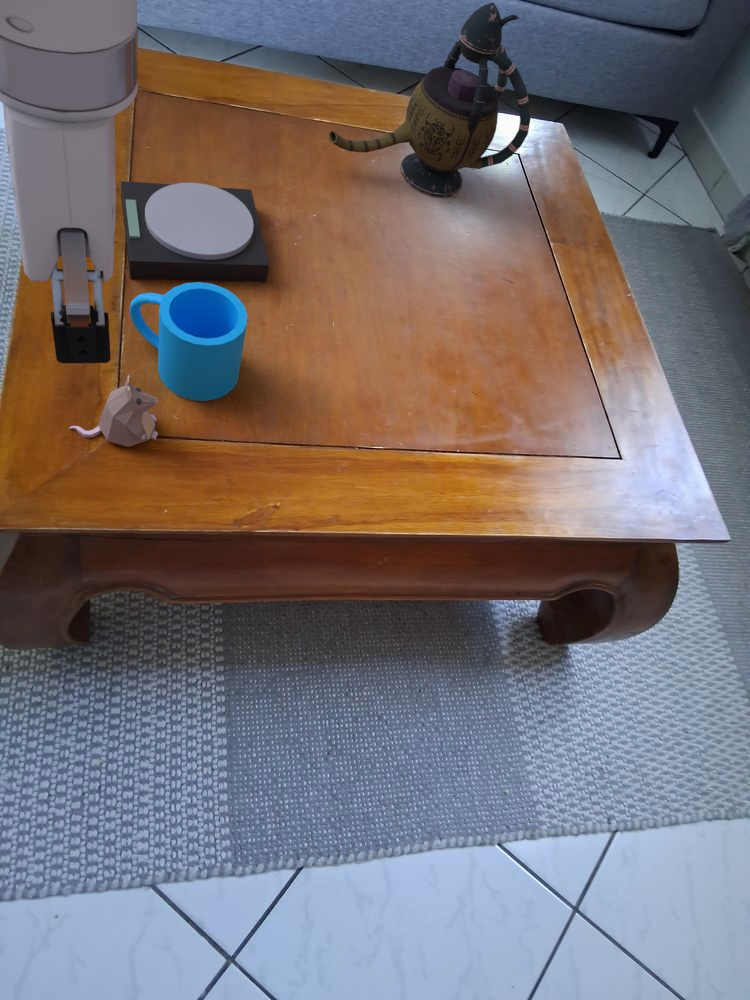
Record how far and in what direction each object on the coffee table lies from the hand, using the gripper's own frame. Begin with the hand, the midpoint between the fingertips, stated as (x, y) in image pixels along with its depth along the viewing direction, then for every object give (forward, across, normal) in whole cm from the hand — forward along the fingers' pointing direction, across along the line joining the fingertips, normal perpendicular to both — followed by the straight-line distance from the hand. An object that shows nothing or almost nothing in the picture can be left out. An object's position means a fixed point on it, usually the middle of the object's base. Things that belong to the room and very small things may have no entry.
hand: (80, 304), depth 51 cm
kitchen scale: (+22, -32, +12) cm, 41 cm away
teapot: (+22, -47, +43) cm, 68 cm away
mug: (+22, -14, +9) cm, 28 cm away
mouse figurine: (+22, -6, +2) cm, 23 cm away
